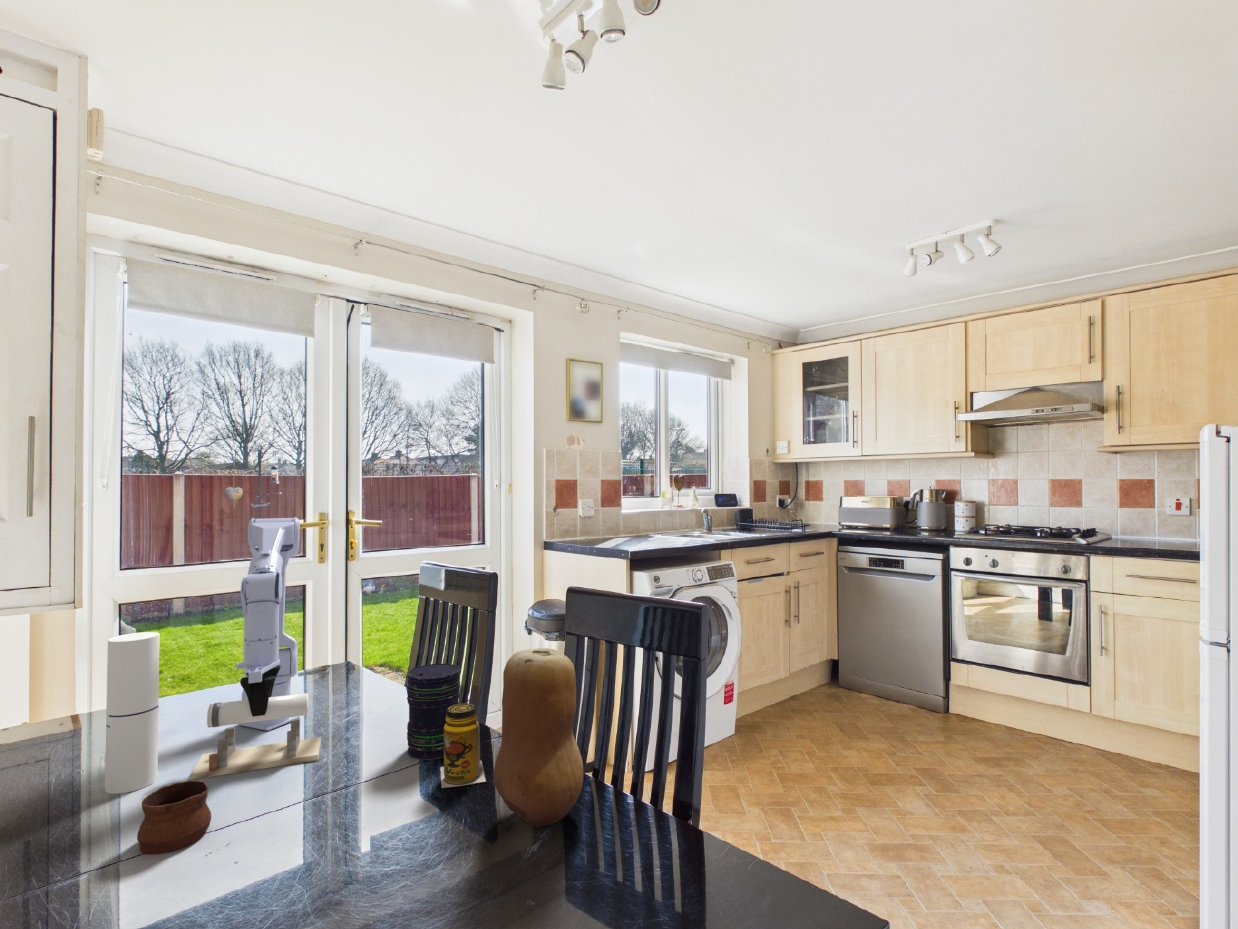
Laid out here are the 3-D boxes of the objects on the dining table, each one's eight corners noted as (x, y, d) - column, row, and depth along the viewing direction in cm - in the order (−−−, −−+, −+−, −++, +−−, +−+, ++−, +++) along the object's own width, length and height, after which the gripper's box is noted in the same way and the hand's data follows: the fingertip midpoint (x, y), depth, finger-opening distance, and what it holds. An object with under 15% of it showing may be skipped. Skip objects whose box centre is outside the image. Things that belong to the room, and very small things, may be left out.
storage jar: (440, 734, 128) (440, 660, 129) (470, 747, 122) (470, 669, 123) (396, 751, 121) (396, 672, 121) (426, 765, 114) (426, 681, 115)
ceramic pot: (269, 830, 93) (268, 781, 94) (124, 896, 79) (123, 838, 79) (213, 799, 104) (213, 756, 104) (76, 853, 89) (75, 802, 89)
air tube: (308, 710, 123) (308, 689, 123) (306, 719, 119) (306, 696, 119) (212, 722, 117) (212, 700, 117) (206, 731, 113) (207, 708, 113)
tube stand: (190, 780, 109) (190, 747, 110) (203, 759, 118) (203, 729, 118) (318, 760, 117) (318, 730, 117) (321, 742, 125) (321, 714, 125)
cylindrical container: (128, 795, 104) (131, 642, 105) (93, 791, 106) (96, 640, 106) (167, 775, 111) (169, 632, 112) (134, 772, 113) (136, 631, 113)
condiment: (441, 789, 105) (441, 716, 106) (440, 768, 113) (440, 700, 114) (486, 783, 107) (485, 711, 108) (481, 762, 115) (481, 696, 116)
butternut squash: (601, 809, 98) (599, 647, 99) (548, 853, 86) (547, 668, 87) (530, 788, 105) (529, 637, 106) (473, 826, 93) (473, 655, 94)
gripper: (244, 631, 123) (243, 702, 123) (229, 649, 110) (228, 728, 110) (284, 628, 126) (284, 697, 126) (274, 644, 113) (274, 722, 112)
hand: (260, 711), depth 118 cm, fingers closed on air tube, 4 cm apart
